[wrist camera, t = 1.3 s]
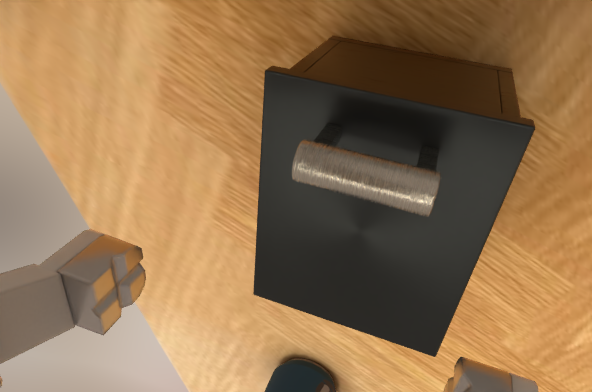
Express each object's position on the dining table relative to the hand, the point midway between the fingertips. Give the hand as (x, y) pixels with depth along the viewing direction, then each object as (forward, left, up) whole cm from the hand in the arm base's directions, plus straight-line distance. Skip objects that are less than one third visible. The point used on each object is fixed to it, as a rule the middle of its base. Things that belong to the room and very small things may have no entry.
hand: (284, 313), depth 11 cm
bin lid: (+4, +1, -10) cm, 11 cm away
